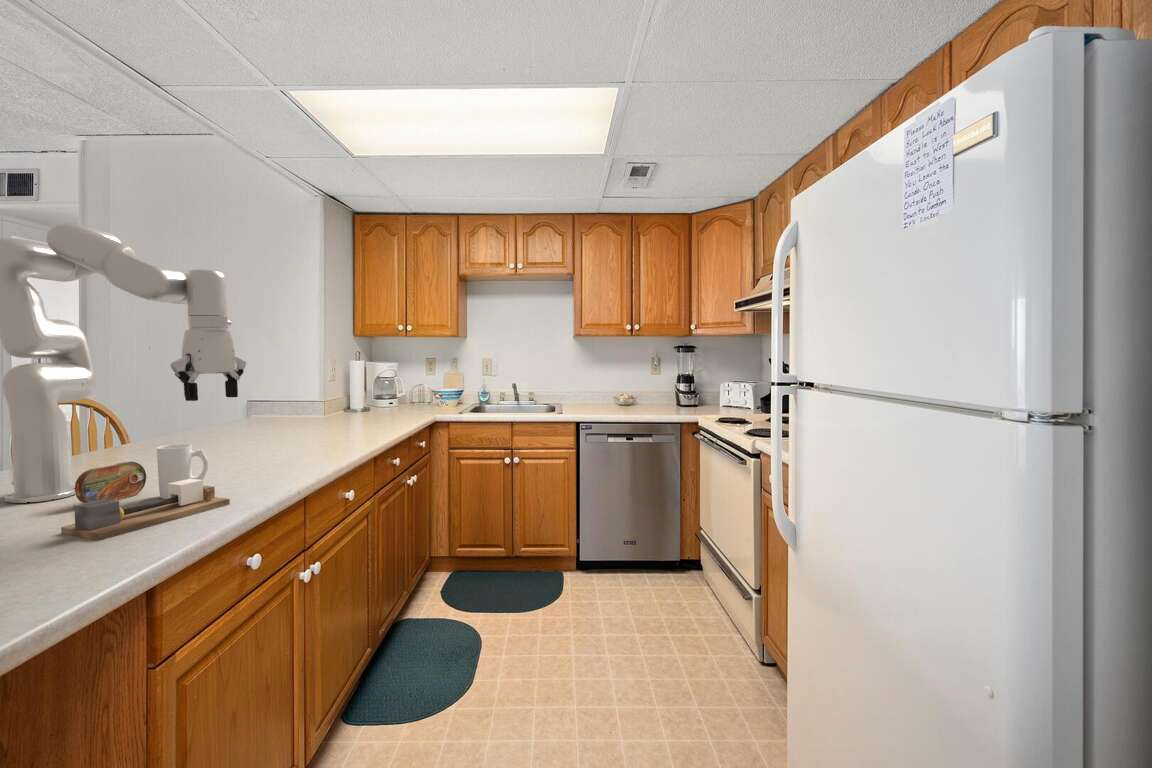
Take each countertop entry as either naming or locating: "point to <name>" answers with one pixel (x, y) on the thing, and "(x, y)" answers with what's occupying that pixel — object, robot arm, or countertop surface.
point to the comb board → (133, 515)
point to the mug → (177, 465)
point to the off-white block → (186, 491)
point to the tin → (110, 482)
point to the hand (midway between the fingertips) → (212, 398)
